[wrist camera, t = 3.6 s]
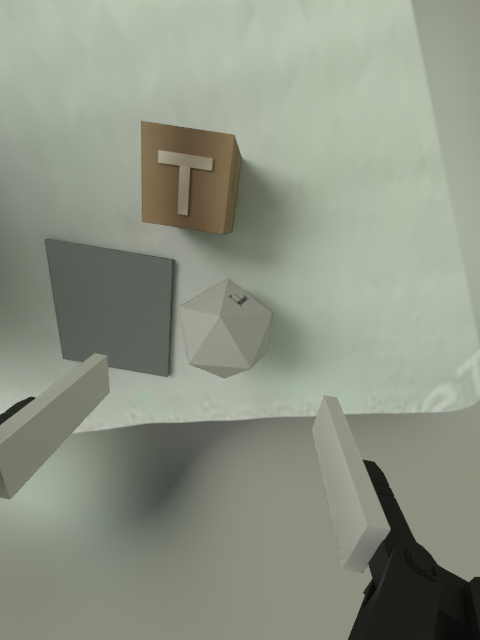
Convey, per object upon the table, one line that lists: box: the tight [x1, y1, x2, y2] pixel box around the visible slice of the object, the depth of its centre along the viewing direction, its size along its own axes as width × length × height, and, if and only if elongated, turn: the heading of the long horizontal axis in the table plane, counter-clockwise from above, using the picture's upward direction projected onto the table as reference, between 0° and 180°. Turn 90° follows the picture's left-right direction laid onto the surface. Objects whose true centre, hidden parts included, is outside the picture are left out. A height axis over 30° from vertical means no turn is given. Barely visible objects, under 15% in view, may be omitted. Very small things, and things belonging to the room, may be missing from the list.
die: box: [179, 278, 273, 378], centre depth 23 cm, size 8×9×10 cm
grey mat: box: [45, 239, 174, 377], centre depth 27 cm, size 13×14×1 cm
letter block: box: [141, 121, 242, 234], centre depth 19 cm, size 6×6×6 cm
